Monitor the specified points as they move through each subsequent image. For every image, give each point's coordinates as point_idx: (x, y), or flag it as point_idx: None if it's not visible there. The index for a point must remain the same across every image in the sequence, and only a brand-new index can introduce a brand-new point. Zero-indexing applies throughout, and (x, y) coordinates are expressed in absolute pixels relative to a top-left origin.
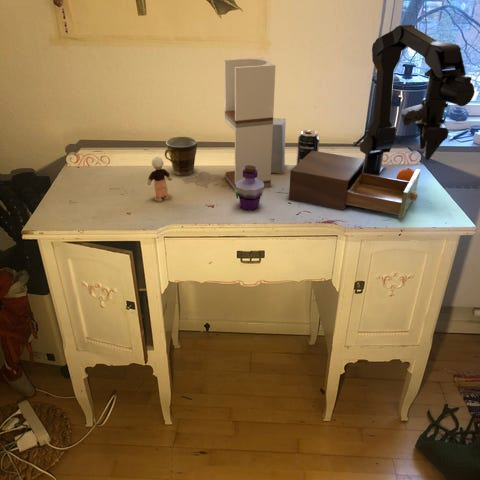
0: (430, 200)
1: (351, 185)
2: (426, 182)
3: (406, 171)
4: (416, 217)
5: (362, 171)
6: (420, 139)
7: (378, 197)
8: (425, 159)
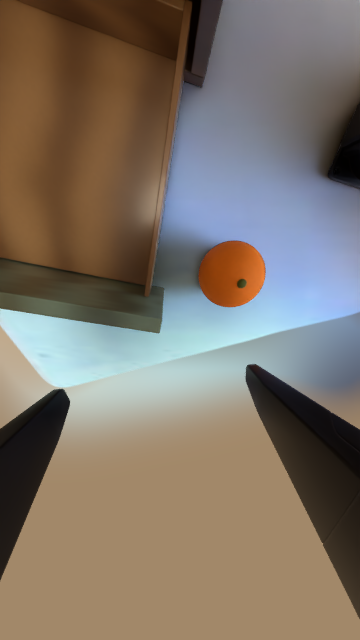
0: None
1: None
2: (263, 323)
3: (226, 276)
4: None
5: (201, 2)
6: (282, 403)
7: (61, 169)
8: (53, 391)
